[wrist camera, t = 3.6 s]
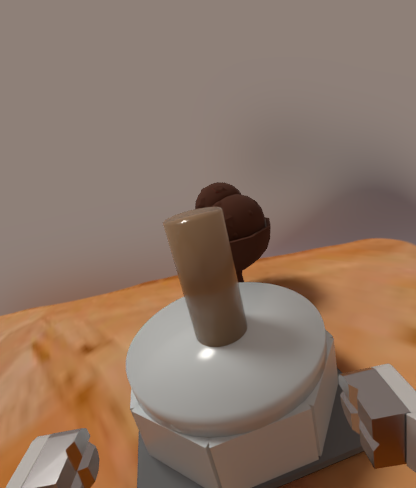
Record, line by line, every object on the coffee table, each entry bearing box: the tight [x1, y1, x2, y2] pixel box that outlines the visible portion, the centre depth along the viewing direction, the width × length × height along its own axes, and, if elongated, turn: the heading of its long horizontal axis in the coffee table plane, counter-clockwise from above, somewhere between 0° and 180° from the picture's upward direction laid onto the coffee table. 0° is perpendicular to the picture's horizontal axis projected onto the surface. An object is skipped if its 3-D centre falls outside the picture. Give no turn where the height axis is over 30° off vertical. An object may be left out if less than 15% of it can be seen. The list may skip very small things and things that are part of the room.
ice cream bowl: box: [195, 183, 270, 283], centre depth 35 cm, size 11×11×15 cm
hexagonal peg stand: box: [126, 207, 338, 488], centre depth 21 cm, size 15×15×14 cm
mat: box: [137, 368, 364, 488], centre depth 23 cm, size 16×15×1 cm
